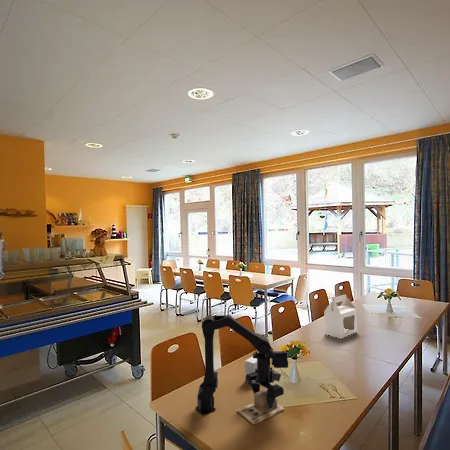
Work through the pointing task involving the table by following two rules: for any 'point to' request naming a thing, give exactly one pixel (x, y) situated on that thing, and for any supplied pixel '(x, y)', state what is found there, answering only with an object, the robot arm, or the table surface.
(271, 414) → the guide board
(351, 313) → the gable box
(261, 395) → the upright wooden block
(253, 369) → the small box
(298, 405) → the table surface
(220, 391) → the table surface
